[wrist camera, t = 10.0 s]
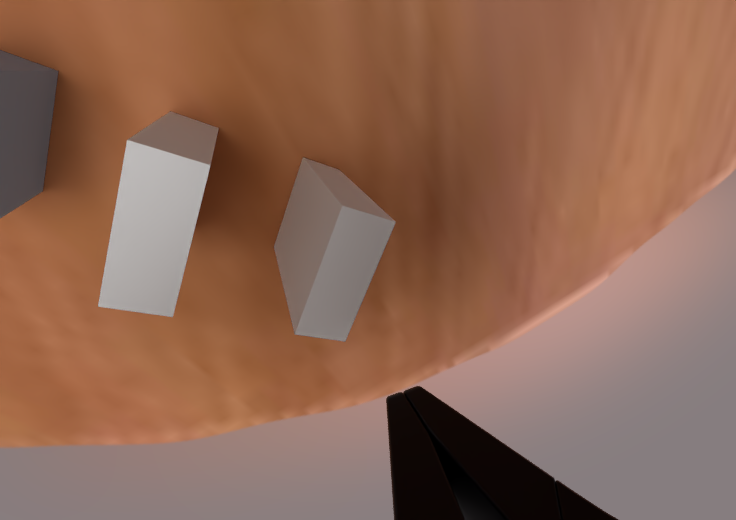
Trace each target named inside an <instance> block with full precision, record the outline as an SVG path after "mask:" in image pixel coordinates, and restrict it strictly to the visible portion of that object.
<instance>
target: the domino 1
mask: <svg viewBox="0 0 736 520" xmlns="http://www.w3.org/2000/svg"><path fill="white" fill-rule="evenodd" d="M57 78H58V71H57V70H54V69H51V68H49V67H46V66H43V65H40V64H37V63H35V62H32V61H29V60H26V59H24V58H21V57H18V56H15V55H12V54H10V53H7V52H4V51H1V50H0V218H2V217H3V216H5V215H6V214H8V213H10V212H11V211H13V210H14V209H16V208H17V207H19V206H20V205H22V204H24V203H25V202H27V201H28V200H30V199H31V198H33V197H35V196H36V195H38V194H39V193H41V192H42V191H43V186H44V179H45V171H46V163H47V155H48V148H49V140H50V132H51V124H52V117H53V109H54V101H55V93H56V86H57Z"/></svg>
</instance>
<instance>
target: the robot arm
mask: <svg viewBox="0 0 736 520" xmlns="http://www.w3.org/2000/svg"><path fill="white" fill-rule="evenodd" d="M386 403H387V418H388V432H389V449H390V464H391V479H392V494H393V510H394V520H618V519H616V518H615V517H613V516H611V515H610V514H608V513H606V512H604V511H603V510H602V509H600V508H598V507H597V506H595V505H594V504H592V503H591V502H589V501H588V500H586V499H585V498H583V497H582V496H580V495H579V494H577V493H575V492H574V491H573V490H571V489H570V488H568V487H567V486H565V485H564V484H562V483H561V482H559V481H555V480H554V478H553V477H552V476H550V475H549V474H548V473H546V472H545V471H543V470H542V469H540V468H539V467H537V466H536V465H534V464H533V463H532V462H530V461H529V460H527V459H526V458H524V457H523V456H521V455H520V454H518V453H517V452H515V451H514V450H512V449H511V448H510V447H508V446H507V445H505V444H504V443H502V442H501V441H499V440H498V439H496V438H495V437H494V436H492V435H491V434H489V433H488V432H486V431H485V430H483V429H481V428H480V427H479V426H477V425H476V424H475V423H473V422H472V421H470V420H469V419H467V418H466V417H464V416H463V415H461V414H460V413H459V412H457V411H455V410H454V409H453V408H451V407H450V406H448V405H447V404H445V403H444V402H442V401H441V400H439V399H438V398H436V397H435V396H434V395H432V394H431V393H429V392H428V391H426V390H425V389H423V388H422V387H420V386H416V387H413V388H410V389H408V390H405V391H404V393H402V392H399V393H396V394H393V395H391V396H388V397H387V399H386Z"/></svg>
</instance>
